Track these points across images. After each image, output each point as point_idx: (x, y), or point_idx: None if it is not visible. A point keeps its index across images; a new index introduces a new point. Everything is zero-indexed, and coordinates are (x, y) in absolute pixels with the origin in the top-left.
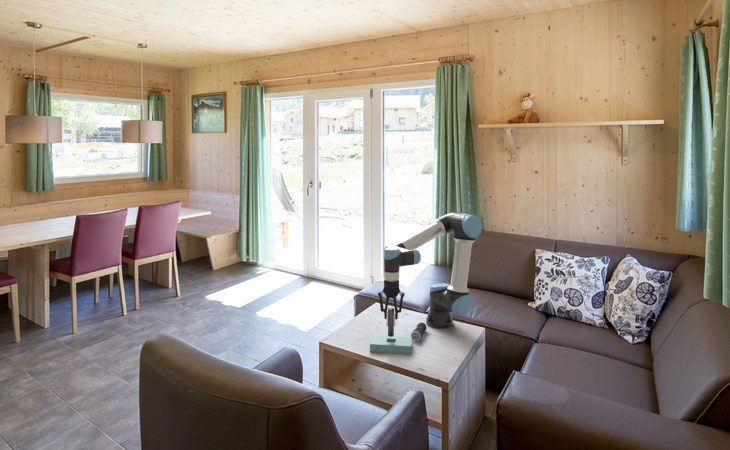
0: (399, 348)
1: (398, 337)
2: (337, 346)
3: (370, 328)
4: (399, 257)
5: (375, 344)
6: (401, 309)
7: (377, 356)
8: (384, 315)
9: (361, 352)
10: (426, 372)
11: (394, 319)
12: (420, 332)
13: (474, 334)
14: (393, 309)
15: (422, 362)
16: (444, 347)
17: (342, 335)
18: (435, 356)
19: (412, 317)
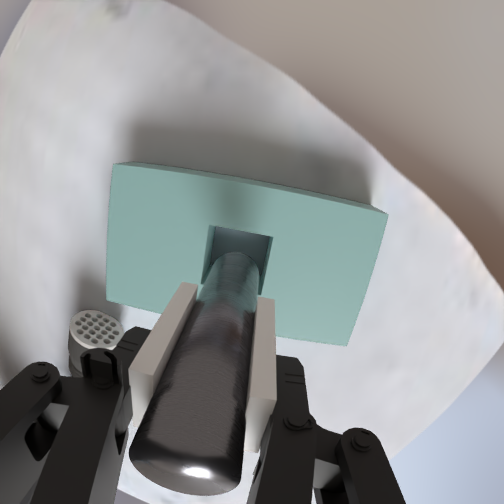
0: (189, 171)
1: None
2: (494, 280)
3: None
4: None
5: (354, 206)
6: (6, 386)
7: (335, 139)
8: (304, 388)
9: (415, 202)
10: None
11: (166, 322)
12: (68, 343)
13: None
14: (137, 439)
15: (95, 69)
16: (4, 237)
17: (446, 384)
18: (34, 142)
19: (143, 484)
